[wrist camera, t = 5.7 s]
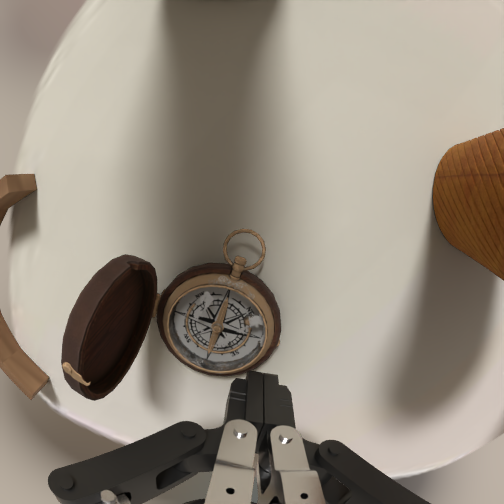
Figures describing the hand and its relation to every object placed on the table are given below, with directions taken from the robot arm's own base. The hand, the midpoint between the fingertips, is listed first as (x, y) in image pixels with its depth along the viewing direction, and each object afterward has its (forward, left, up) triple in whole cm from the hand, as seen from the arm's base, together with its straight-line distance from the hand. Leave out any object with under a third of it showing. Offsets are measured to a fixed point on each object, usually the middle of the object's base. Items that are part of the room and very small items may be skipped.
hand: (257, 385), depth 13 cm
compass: (+3, -3, -2) cm, 5 cm away
